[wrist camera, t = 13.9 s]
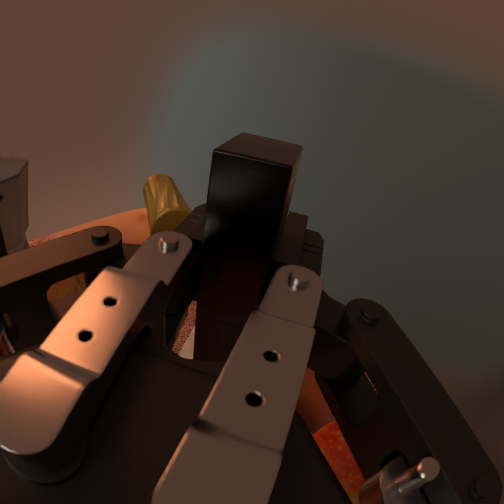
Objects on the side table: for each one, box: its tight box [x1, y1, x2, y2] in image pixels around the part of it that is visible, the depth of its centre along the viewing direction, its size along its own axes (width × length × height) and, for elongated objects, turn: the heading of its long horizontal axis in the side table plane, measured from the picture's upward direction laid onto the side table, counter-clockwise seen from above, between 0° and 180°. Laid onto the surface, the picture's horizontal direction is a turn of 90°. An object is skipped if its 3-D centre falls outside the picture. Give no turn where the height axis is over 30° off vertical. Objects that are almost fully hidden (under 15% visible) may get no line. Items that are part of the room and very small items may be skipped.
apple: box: [312, 420, 365, 504], centre depth 16 cm, size 8×8×8 cm
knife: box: [193, 133, 303, 363], centre depth 12 cm, size 4×2×18 cm, turn 166°
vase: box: [143, 174, 191, 236], centre depth 44 cm, size 6×6×14 cm
